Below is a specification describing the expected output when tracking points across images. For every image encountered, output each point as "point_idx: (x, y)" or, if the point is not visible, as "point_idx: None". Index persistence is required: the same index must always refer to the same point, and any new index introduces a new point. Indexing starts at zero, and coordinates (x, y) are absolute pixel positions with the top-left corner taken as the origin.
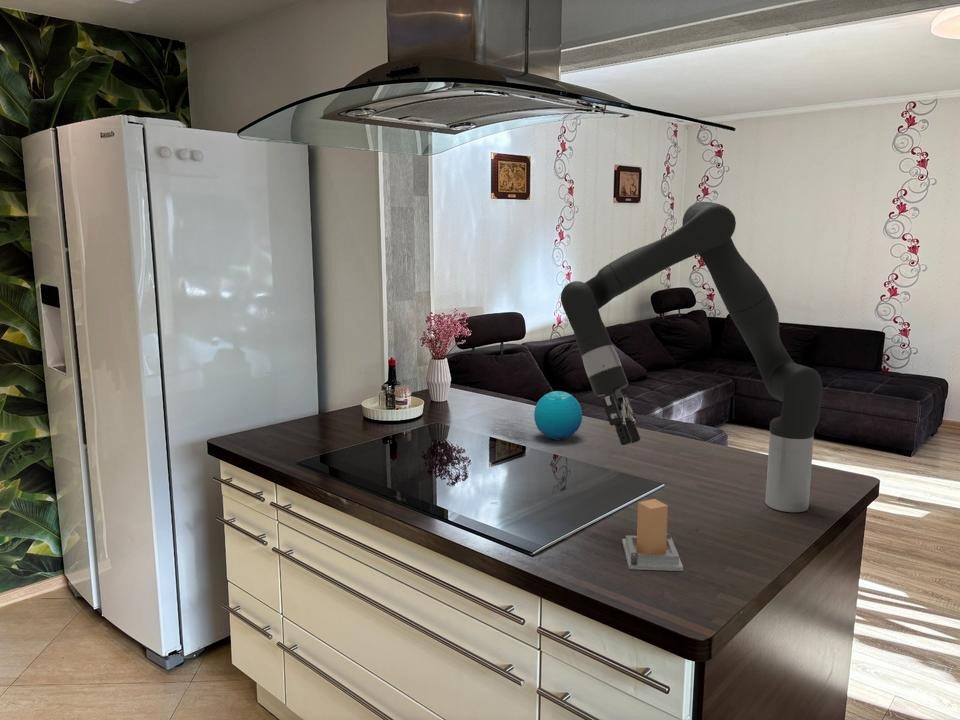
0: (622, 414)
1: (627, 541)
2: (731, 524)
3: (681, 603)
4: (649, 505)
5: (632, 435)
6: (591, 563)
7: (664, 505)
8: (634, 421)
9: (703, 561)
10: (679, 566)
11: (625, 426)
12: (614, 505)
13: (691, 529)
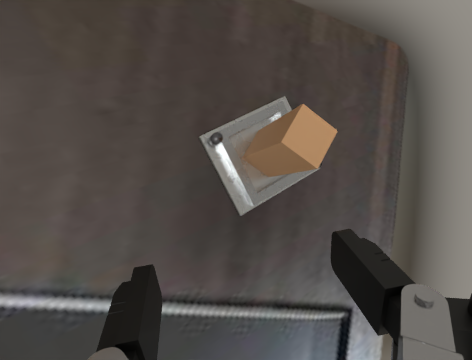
0: (452, 350)
1: (274, 193)
2: (28, 50)
3: (358, 82)
4: (321, 140)
5: (155, 310)
6: (326, 223)
7: (305, 110)
8: (112, 358)
9: (235, 76)
10: (285, 101)
11: (399, 281)
12: (55, 320)
13: (108, 122)
